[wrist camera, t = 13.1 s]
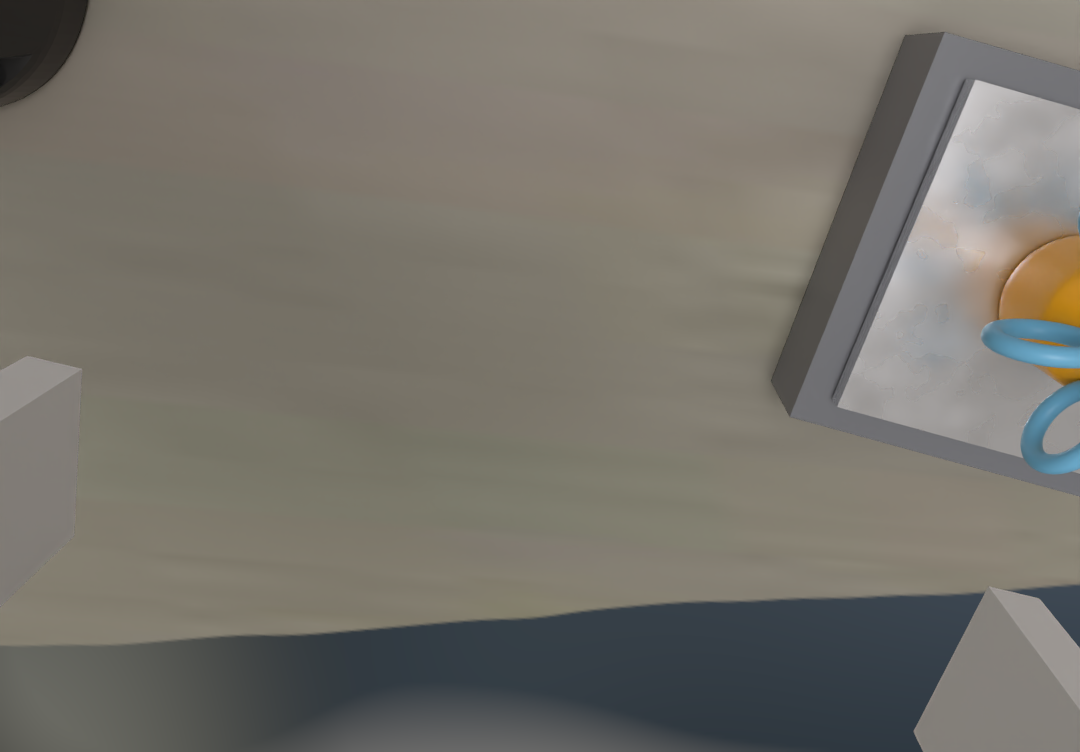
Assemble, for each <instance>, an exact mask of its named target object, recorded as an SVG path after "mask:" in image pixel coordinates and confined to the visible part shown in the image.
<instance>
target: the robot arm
mask: <svg viewBox="0 0 1080 752" xmlns="http://www.w3.org/2000/svg"><path fill="white" fill-rule="evenodd" d="M86 3H87V0H0V106H2V105H6V104H9V103H12V102H14V101H17V100H19V99H21V98H23V97H25V96H27V95H29V94H30V93H32V92H34V91H35V90H36V89H38V88H39V87H41V86H42V85H43V84H44V83H45V82H47V81H48V80H49V79H50V78H51V77H52V76H53V75H54V74H55V73H56V71H57V70H58V69H59V68H60V66H61V65H62V64H63V62H64V61H65V59H66V58H67V56H68V55H69V53H70V51H71V49H72V47H73V45H74V43H75V41H76V39H77V36H78V34H79V31H80V28H81V25H82V21H83V17H84V14H85V8H86ZM81 384H82V369H80V368H76V367H72V366H68V365H64V364H60V363H55V362H51V361H47V360H43V359H39V358H35V357H30V356H26V357H24V358H22V359H20V360H18V361H17V362H15V363H13V364H11V365H9V366H8V367H6V368H4V369H2V370H0V607H1V606H2V605H3V604H4V603H5V602H6V601H7V600H8V599H9V598H10V597H11V596H12V595H13V594H14V593H15V592H16V591H17V590H18V589H19V588H21V587H22V586H23V585H24V584H25V583H26V582H27V581H28V580H29V579H30V578H31V577H32V576H33V575H34V574H35V573H36V572H37V571H38V570H39V569H40V568H41V567H42V566H44V565H45V564H46V563H47V562H48V561H49V560H50V559H51V558H52V557H53V556H54V555H55V554H56V553H57V552H58V551H59V550H60V549H61V548H62V547H63V546H64V545H66V544H67V543H68V542H69V541H70V540H71V539H72V538H73V537H74V530H75V509H76V488H77V467H78V446H79V426H80V405H81ZM914 733H915V736H916V738H917V740H918V742H919V744H920V746H921V748H922V750H923V752H1080V648H1079V647H1078V646H1077V644H1076V643H1075V642H1074V641H1073V639H1072V638H1071V637H1070V636H1069V635H1068V633H1067V632H1066V631H1065V630H1064V628H1063V627H1062V626H1061V625H1060V624H1059V622H1058V621H1057V620H1056V619H1055V617H1054V616H1053V615H1052V614H1051V612H1050V611H1049V610H1048V609H1047V608H1046V606H1045V605H1044V604H1043V603H1042V601H1041V600H1040V599H1039V598H1035V597H1030V596H1026V595H1022V594H1018V593H1014V592H1010V591H1006V590H1001V589H997V588H993V587H989V586H988V588H987V590H986V592H985V594H984V596H983V598H982V600H981V602H980V604H979V606H978V608H977V610H976V612H975V613H974V615H973V617H972V619H971V621H970V623H969V625H968V627H967V629H966V631H965V633H964V635H963V637H962V639H961V641H960V643H959V645H958V646H957V648H956V650H955V652H954V654H953V656H952V658H951V660H950V662H949V664H948V666H947V668H946V670H945V672H944V674H943V676H942V677H941V679H940V681H939V683H938V685H937V687H936V689H935V691H934V693H933V695H932V697H931V699H930V701H929V703H928V705H927V707H926V708H925V710H924V712H923V714H922V716H921V718H920V720H919V722H918V724H917V726H916V728H915V730H914Z"/></svg>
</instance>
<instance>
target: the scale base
mask: <svg viewBox="0 0 1080 752" xmlns="http://www.w3.org/2000/svg"><path fill="white" fill-rule="evenodd" d="M966 79H974V80H979V81H982V82H986V83H989V84H993V85H996V86H1000V87H1003V88H1007V89H1010V90H1014V91H1017V92H1021V93H1024V94H1028V95H1031V96H1035V97H1038V98H1042V99H1045V100H1049V101H1052V102H1056V103H1059V104H1063V105H1066V106H1070V107H1073V108H1077V109H1080V71H1078V70H1075V69H1071V68H1068V67H1064V66H1061V65H1057V64H1054V63H1050V62H1047V61H1044V60H1040V59H1037V58H1033V57H1030V56H1026V55H1023V54H1019V53H1016V52H1012V51H1009V50H1005V49H1002V48H998V47H995V46H991V45H988V44H984V43H981V42H978V41H974V40H971V39H967V38H964V37H960V36H957V35H953V34H950V33H946V32H940V33H928V34H916V35H905V37H904V40H903V43H902V45H901V48H900V50H899V53H898V55H897V58H896V61H895V63H894V66H893V68H892V71H891V73H890V76H889V79H888V81H887V84H886V86H885V89H884V91H883V94H882V97H881V99H880V102H879V104H878V107H877V109H876V112H875V115H874V117H873V120H872V122H871V125H870V128H869V130H868V133H867V135H866V138H865V140H864V143H863V146H862V148H861V151H860V153H859V156H858V158H857V161H856V164H855V166H854V169H853V171H852V174H851V176H850V179H849V182H848V184H847V187H846V189H845V192H844V194H843V197H842V200H841V202H840V205H839V207H838V210H837V213H836V215H835V218H834V220H833V223H832V225H831V228H830V231H829V233H828V236H827V238H826V241H825V243H824V246H823V249H822V251H821V254H820V256H819V259H818V261H817V264H816V267H815V269H814V272H813V274H812V277H811V279H810V282H809V285H808V287H807V290H806V292H805V295H804V298H803V300H802V303H801V305H800V308H799V310H798V313H797V316H796V318H795V321H794V323H793V326H792V328H791V331H790V334H789V336H788V339H787V341H786V344H785V346H784V349H783V352H782V354H781V357H780V359H779V362H778V364H777V367H776V370H775V372H774V375H773V377H772V380H771V382H772V384H773V386H774V388H775V390H776V391H777V393H778V395H779V397H780V399H781V401H782V403H783V405H784V407H785V409H786V411H787V412H788V414H789V416H790V417H792V418H796V419H800V420H803V421H807V422H811V423H814V424H818V425H821V426H825V427H829V428H832V429H836V430H840V431H843V432H847V433H851V434H854V435H858V436H862V437H865V438H869V439H872V440H876V441H880V442H883V443H887V444H891V445H894V446H898V447H902V448H905V449H909V450H912V451H916V452H920V453H923V454H927V455H931V456H934V457H938V458H942V459H945V460H949V461H953V462H956V463H960V464H963V465H967V466H971V467H974V468H978V469H982V470H985V471H989V472H993V473H996V474H1000V475H1004V476H1007V477H1011V478H1014V479H1018V480H1022V481H1025V482H1029V483H1033V484H1036V485H1040V486H1044V487H1047V488H1051V489H1055V490H1058V491H1062V492H1065V493H1069V494H1073V495H1076V496H1080V474H1079V473H1075V472H1069V473H1064V474H1045V473H1041V472H1038V471H1036V470H1034V469H1033V468H1031V467H1030V466H1029V465H1028V464H1027V463H1026V461H1025V460H1024V458H1021V457H1017V456H1014V455H1010V454H1006V453H1003V452H999V451H995V450H992V449H988V448H985V447H981V446H977V445H974V444H970V443H966V442H963V441H959V440H955V439H952V438H948V437H945V436H941V435H937V434H934V433H930V432H926V431H923V430H919V429H915V428H912V427H908V426H905V425H901V424H897V423H894V422H890V421H886V420H883V419H879V418H876V417H872V416H868V415H865V414H861V413H857V412H854V411H850V410H846V409H843V408H839V407H837V406H836V404H835V403H834V402H833V400H832V398H833V395H834V393H835V390H836V388H837V386H838V383H839V381H840V378H841V376H842V374H843V371H844V369H845V367H846V364H847V362H848V359H849V357H850V355H851V352H852V350H853V347H854V345H855V343H856V340H857V338H858V335H859V333H860V331H861V328H862V326H863V324H864V321H865V319H866V316H867V314H868V312H869V309H870V307H871V304H872V302H873V300H874V297H875V295H876V293H877V290H878V288H879V285H880V283H881V281H882V278H883V276H884V273H885V271H886V269H887V266H888V264H889V261H890V259H891V257H892V254H893V252H894V250H895V247H896V245H897V242H898V240H899V238H900V235H901V233H902V230H903V228H904V226H905V223H906V221H907V218H908V216H909V214H910V211H911V209H912V207H913V204H914V202H915V199H916V197H917V195H918V192H919V190H920V187H921V185H922V183H923V180H924V178H925V176H926V173H927V171H928V168H929V166H930V164H931V161H932V159H933V156H934V154H935V152H936V149H937V147H938V144H939V142H940V140H941V137H942V135H943V133H944V130H945V128H946V125H947V123H948V121H949V118H950V116H951V113H952V111H953V109H954V106H955V104H956V102H957V99H958V97H959V94H960V92H961V90H962V87H963V85H964V82H965V80H966Z"/></svg>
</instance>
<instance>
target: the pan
mask: <svg viewBox="0 0 1080 752" xmlns="http://www.w3.org/2000/svg"><path fill="white" fill-rule="evenodd" d="M1079 212H1080V109H1077V108H1073V107H1070V106H1066V105H1063V104H1059V103H1056V102H1052V101H1049V100H1045V99H1042V98H1038V97H1035V96H1031V95H1028V94H1024V93H1021V92H1017V91H1014V90H1010V89H1007V88H1003V87H1000V86H996V85H993V84H989V83H986V82H982V81H979V80H974V79H966V80H965V82H964V85H963V87H962V90H961V92H960V94H959V97H958V99H957V102H956V104H955V106H954V109H953V111H952V113H951V116H950V118H949V121H948V123H947V125H946V128H945V130H944V133H943V135H942V137H941V140H940V142H939V144H938V147H937V149H936V152H935V154H934V156H933V159H932V161H931V164H930V166H929V168H928V171H927V173H926V176H925V178H924V180H923V183H922V185H921V187H920V190H919V192H918V195H917V197H916V199H915V202H914V204H913V207H912V209H911V211H910V214H909V216H908V218H907V221H906V223H905V226H904V228H903V230H902V233H901V235H900V238H899V240H898V242H897V245H896V247H895V250H894V252H893V254H892V257H891V259H890V261H889V264H888V266H887V269H886V271H885V273H884V276H883V278H882V281H881V283H880V285H879V288H878V290H877V293H876V295H875V297H874V300H873V302H872V304H871V307H870V309H869V312H868V314H867V316H866V319H865V321H864V324H863V326H862V328H861V331H860V333H859V335H858V338H857V340H856V343H855V345H854V347H853V350H852V352H851V355H850V357H849V359H848V362H847V364H846V367H845V369H844V371H843V374H842V376H841V378H840V381H839V383H838V386H837V388H836V390H835V393H834V395H833V398H832V400H833V402H834V403H835V404H836V406H837V407H839V408H843V409H846V410H850V411H854V412H857V413H861V414H865V415H868V416H872V417H876V418H879V419H883V420H886V421H890V422H894V423H897V424H901V425H905V426H908V427H912V428H915V429H919V430H923V431H926V432H930V433H934V434H937V435H941V436H945V437H948V438H952V439H955V440H959V441H963V442H966V443H970V444H974V445H977V446H981V447H985V448H988V449H992V450H995V451H999V452H1003V453H1006V454H1010V455H1014V456H1017V457H1021V458H1023V456H1022V453H1021V446H1020V443H1021V436H1022V432H1023V429H1024V427H1025V424H1026V422H1027V421H1028V419H1029V417H1030V416H1031V414H1032V413H1033V411H1034V410H1035V409H1036V408H1037V407H1038V406H1039V404H1040V403H1041V402H1042V401H1043V400H1045V399H1046V398H1047V397H1048V396H1049V395H1051V394H1052V393H1053V392H1055V391H1056V390H1058V389H1060V388H1061V387H1063V385H1061V384H1059V383H1058V382H1057V381H1055V380H1054V379H1052V378H1051V377H1049V376H1048V375H1047V374H1045V373H1044V372H1042V371H1041V370H1040V369H1038V368H1037V367H1035V366H1034V365H1032V364H1030V363H1025V362H1021V361H1017V360H1014V359H1010V358H1007V357H1005V356H1002V355H1000V354H997V353H995V352H993V351H992V350H990V349H989V348H987V347H986V346H985V345H984V343H983V342H982V340H981V331H982V329H983V328H984V327H985V326H986V325H987V324H989V323H991V322H993V321H997V320H1000V319H999V302H1000V297H1001V293H1002V291H1003V288H1004V285H1005V283H1006V282H1007V280H1008V278H1009V276H1010V274H1011V273H1012V272H1013V271H1014V270H1015V268H1016V267H1017V266H1018V264H1019V263H1020V262H1021V261H1022V260H1024V259H1025V258H1026V257H1027V256H1028V255H1029V254H1030V253H1032V252H1033V251H1035V250H1037V249H1038V248H1040V247H1041V246H1043V245H1045V244H1048V243H1050V242H1052V241H1055V240H1057V239H1061V238H1065V237H1069V236H1076V235H1079V232H1078V215H1079ZM1079 443H1080V401H1078V402H1076V403H1074V404H1072V405H1071V406H1069V407H1068V408H1066V409H1065V410H1064V411H1062V412H1061V413H1060V414H1059V415H1058V416H1057V417H1056V418H1055V419H1054V420H1053V421H1052V423H1051V424H1050V426H1049V427H1048V429H1047V431H1046V433H1045V435H1044V438H1043V450H1044V451H1045V452H1046V453H1048V454H1058V453H1061V452H1064V451H1067V450H1069V449H1071V448H1072V447H1074V446H1076V445H1077V444H1079ZM1072 472H1075V473H1079V474H1080V469H1078V470H1075V471H1072Z"/></svg>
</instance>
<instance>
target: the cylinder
mask: <svg viewBox="0 0 1080 752" xmlns="http://www.w3.org/2000/svg"><path fill="white" fill-rule="evenodd" d="M1078 232H1079V235H1076V236H1069V237H1065V238H1061V239H1057V240H1055V241H1052V242H1050V243H1048V244H1045V245H1043V246H1041V247H1040V248H1038V249H1037V250H1035V251H1033V252H1032V253H1030V254H1029V255H1028V256H1027V257H1026V258H1025V259H1024V260H1022V261H1021V262H1020V263H1019V264H1018V266H1017V267H1016V268H1015V270H1014V271H1013V272H1012V273H1011V274H1010V276H1009V278H1008V280H1007V282H1006V283H1005V285H1004V288H1003V291H1002V293H1001V297H1000V302H999V319H1000V320H997V321H993V322H991V323H989V324H987V325H986V326H985V327H984V328H983V329H982V331H981V340H982V342H983V343H984V345H985V346H986V347H987V348H989V349H990V350H992V351H993V352H995V353H997V354H1000V355H1002V356H1005V357H1007V358H1010V359H1014V360H1017V361H1021V362H1025V363H1030V364H1032V365H1034V366H1035V367H1037V368H1038V369H1040V370H1041V371H1042V372H1044V373H1045V374H1047V375H1048V376H1049V377H1051V378H1052V379H1054V380H1055V381H1057V382H1058V383H1059V384H1061V385H1063V387H1061V388H1060V389H1058V390H1056V391H1055V392H1053V393H1052V394H1051V395H1049V396H1048V397H1047V398H1046V399H1045V400H1043V401H1042V402H1041V403H1040V404H1039V406H1038V407H1037V408H1036V409H1035V410H1034V411H1033V413H1032V414H1031V416H1030V417H1029V419H1028V421H1027V422H1026V424H1025V427H1024V429H1023V432H1022V436H1021V443H1020V446H1021V453H1022V456H1023V458H1024V460H1025V461H1026V463H1027V464H1028V465H1029V466H1030V467H1031V468H1033V469H1034V470H1036V471H1038V472H1041V473H1045V474H1064V473H1069V472H1072V471H1075V470H1078V469H1080V443H1079V444H1077V445H1076V446H1074V447H1072V448H1071V449H1069V450H1067V451H1064V452H1061V453H1058V454H1048V453H1046V452H1045V451H1044V450H1043V438H1044V435H1045V433H1046V431H1047V429H1048V427H1049V426H1050V424H1051V423H1052V421H1053V420H1054V419H1055V418H1056V417H1057V416H1058V415H1059V414H1060V413H1061V412H1062V411H1064V410H1065V409H1066V408H1068V407H1069V406H1071V405H1072V404H1074V403H1076V402H1078V401H1080V212H1079V215H1078Z"/></svg>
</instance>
